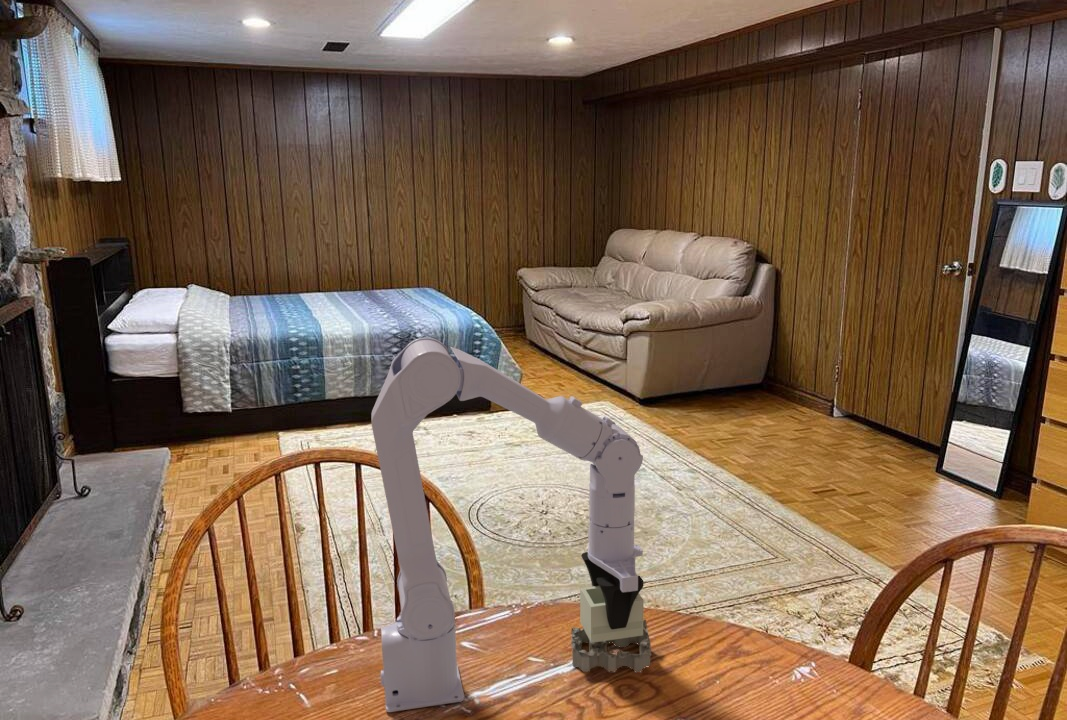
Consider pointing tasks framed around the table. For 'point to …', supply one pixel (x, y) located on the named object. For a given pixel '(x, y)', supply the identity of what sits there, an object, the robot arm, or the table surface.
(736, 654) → the table surface
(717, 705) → the table surface
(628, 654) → the egg carton
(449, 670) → the robot arm
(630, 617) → the box
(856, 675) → the table surface
